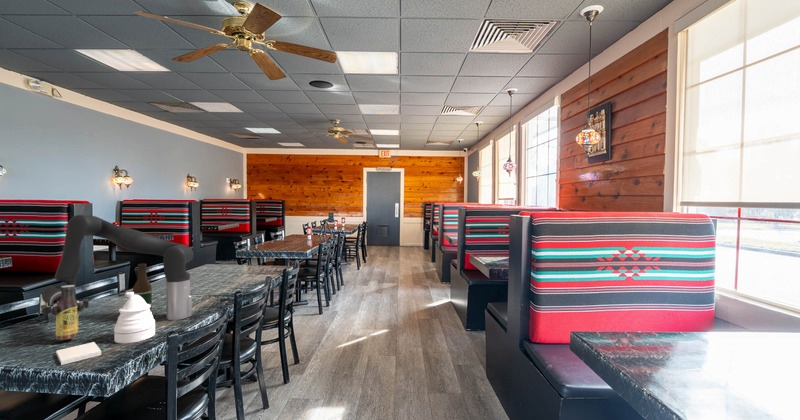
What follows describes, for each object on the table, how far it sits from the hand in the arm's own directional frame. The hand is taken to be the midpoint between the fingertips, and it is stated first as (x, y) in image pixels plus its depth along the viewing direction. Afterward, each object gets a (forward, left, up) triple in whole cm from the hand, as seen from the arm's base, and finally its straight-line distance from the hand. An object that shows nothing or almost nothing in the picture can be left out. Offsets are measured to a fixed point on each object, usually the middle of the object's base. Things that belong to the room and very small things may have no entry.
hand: (68, 310), depth 130 cm
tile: (-1, +11, -12) cm, 16 cm away
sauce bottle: (0, -2, -11) cm, 11 cm away
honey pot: (-18, +11, -12) cm, 25 cm away
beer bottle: (-27, -19, -12) cm, 35 cm away
